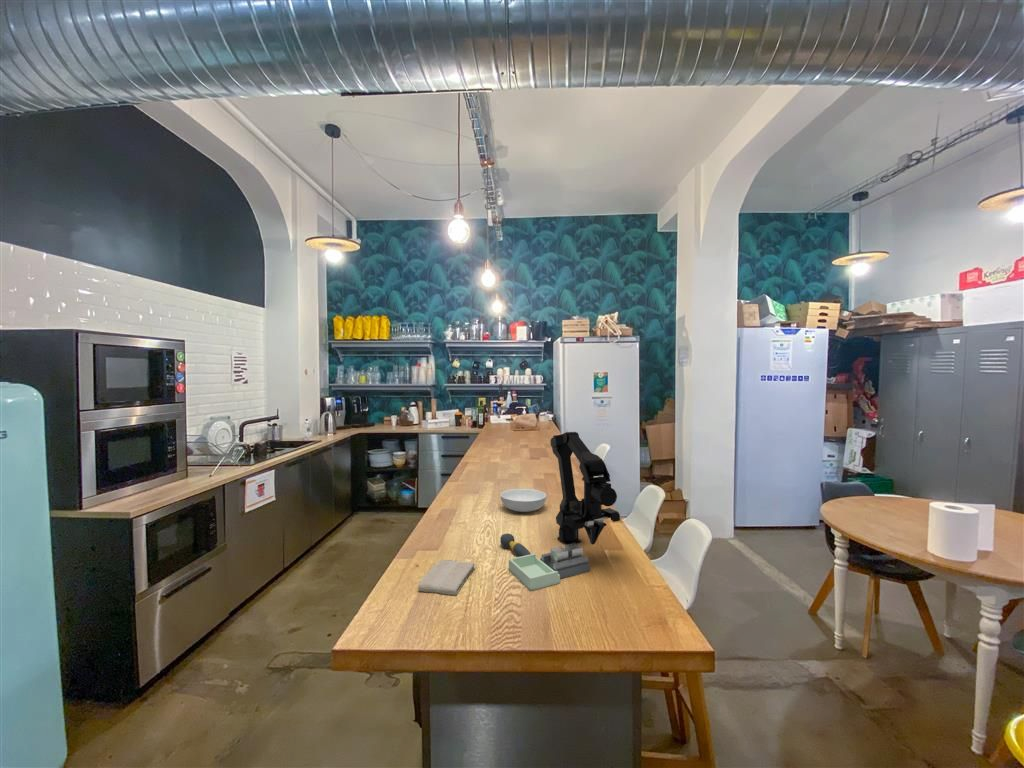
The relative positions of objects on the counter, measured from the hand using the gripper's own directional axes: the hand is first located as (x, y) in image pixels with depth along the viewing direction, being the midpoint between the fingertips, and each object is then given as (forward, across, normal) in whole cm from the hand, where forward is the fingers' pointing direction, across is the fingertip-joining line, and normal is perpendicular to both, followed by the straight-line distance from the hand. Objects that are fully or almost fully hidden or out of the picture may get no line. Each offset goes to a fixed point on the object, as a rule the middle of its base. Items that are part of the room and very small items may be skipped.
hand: (592, 544), depth 138 cm
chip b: (+3, +13, 0) cm, 13 cm away
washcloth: (+6, +46, -10) cm, 48 cm away
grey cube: (+3, +8, 0) cm, 8 cm away
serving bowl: (+6, -5, -58) cm, 58 cm away
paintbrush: (+6, +19, -18) cm, 27 cm away
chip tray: (+6, +22, 0) cm, 23 cm away
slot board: (+6, +11, 0) cm, 12 cm away
